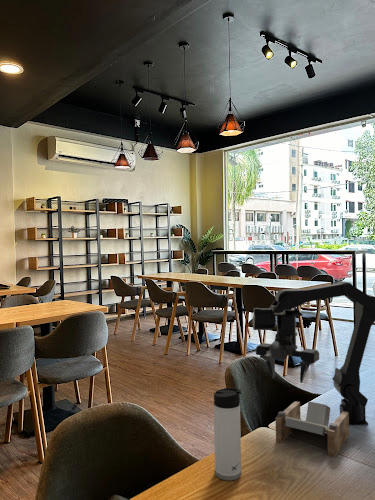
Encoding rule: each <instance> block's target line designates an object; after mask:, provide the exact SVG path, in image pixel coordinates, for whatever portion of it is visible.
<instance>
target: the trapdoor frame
mask: <svg viewBox="0 0 375 500" xmlns="http://www.w3.org/2000/svg"><path fill="white" fill-rule="evenodd" d="M286 417H291V418H295V419H299V420H302V419H301V418H302V416H301V401H297V400H296V401H293V402H292V403H291V404H290V405H289V406H288V407H286V408H285V409H284V410H283V411H281V410H280V411H279V412H277V416H275V442H276V441H277V443H280V442H281V443H283V442H284V441H285V440H286V439H287V438H288V437H289V436H290V435H291V434H292V433H293V432H294V431H295V430H296V429H295V428H291V427H288V426H285V424H286V420H285V418H286ZM328 426H329V429H328V430H327V433H326V434H327V457H331V458H335V457H336V456H337V455H338V453H339V451H340V450H341V448H342V447H343V446H344V444H345V442H346V441H347V439H348V438H349V437H350V425H349V412H345V411H343V412H342V413H341V414H340V413H339V416H338V417H337V418H336V419H335V420H334V421H333V422H329V425H328Z"/></svg>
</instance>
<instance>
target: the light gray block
mask: <svg viewBox="0 0 375 500" xmlns="http://www.w3.org/2000/svg"><path fill="white" fill-rule="evenodd" d="M330 414H331V407H330V406H329V405H326V404H322V403H319V402H314V401H308V403H307V411H306V417H305V421H308V422H312V423H316V424H321V425H325V426H329V425H330Z"/></svg>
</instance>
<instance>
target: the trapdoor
mask: <svg viewBox="0 0 375 500" xmlns="http://www.w3.org/2000/svg"><path fill="white" fill-rule="evenodd" d="M285 420H286V424H285V426H288V427H291V428H295V430H296V429H297V430H300V431H304V432H308V433H312V434H316V435H320V436H324V437H325V433H326V434H327V430H328V429H329V425H328V426H325V425H321V424H316V423H312V422H308V421H306V420H303V419H301V420H299V419H295V418H291V417H286V418H285Z"/></svg>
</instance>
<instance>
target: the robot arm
mask: <svg viewBox="0 0 375 500" xmlns="http://www.w3.org/2000/svg"><path fill="white" fill-rule="evenodd" d="M338 297H345V298H346V299H348V300H349V301H351V302H352V303H353V304H354V317H355V319H354V320H355V323H354V326H353V330H352V333H351V337H350V341H349V344H348V348H347V352H346V356H345V359H344V362H343V365H342V366H341V367H340V368H337V367H335V370H334V375H333V377H332V378H331V379H332V381H333V386H334V388H335V390H336V391H337V392H338V393H339V394H340V396H341V397H342V398H341V400H340V404H339V415H340V414H341V413H342V412H343V411H345V412H349V426H368V425H369V422H368V421H367V420H366V419H367V416H366V413H367V412H366V406H367V404H368V400H369V399H368V398H367V397H366V396H365V394H363V393H362V392H361V391H360V389H361V378H360V377H361V375H360V368H361V366H362V361H363V359H364V354H365V351H366V347H367V343H368V340H369V336H370V331H371V329H372V326H373V325H374V324H375V296H373V295H371V294H367V293H366V292H365V291H362V290H360V289H359V288H357V287H355V286H354V285H353V284H352V283H351V282H347V281H340V282H339V283H332V284H328V285H321V286H316V287H311V288H303V289H298V288H282V289H279V290H277V293H276V294H275V298H274V299H275V300H274V301H273V302H272V303H271V305H270V306H269V308H259V307H253V312H252V329H253V331H272V330H273V329H274V328H275V327H276V333H275V336H274V337H275V338H274V341H273V342H272V343H267V342H265V343H264V342H263V343H260V344H257V345H256V346H255V355H257V356H259V358H261V359H263V361H264V362H265V364H266V365H267V368H268V371H269V374H270V376H271V378H272V379H274V378H275V375H276V374H275V373H276V359H280V360H284V361H285V360H287V357H295V358H296V357H297V358H300V360H301V361H299V365H300V372H299V375H300V376H299V381H300V384H303V383H304V379H305V377H306V375H307V372H308V370H309V367H310V366H312V364H315V363H316V362H317V361H319V360H320V352H319V351H318V349H312V348H305V349H303V350H298V345H297V336H298V332H297V330H296V329H297V323H296V320H297V317H303V313H302V312H301V311H300V310H299V309H298V307H300V306H302V305H304V304H306V303H309V302H310V303H311V302H315V301H321V300H327V299H332V298H338Z"/></svg>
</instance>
